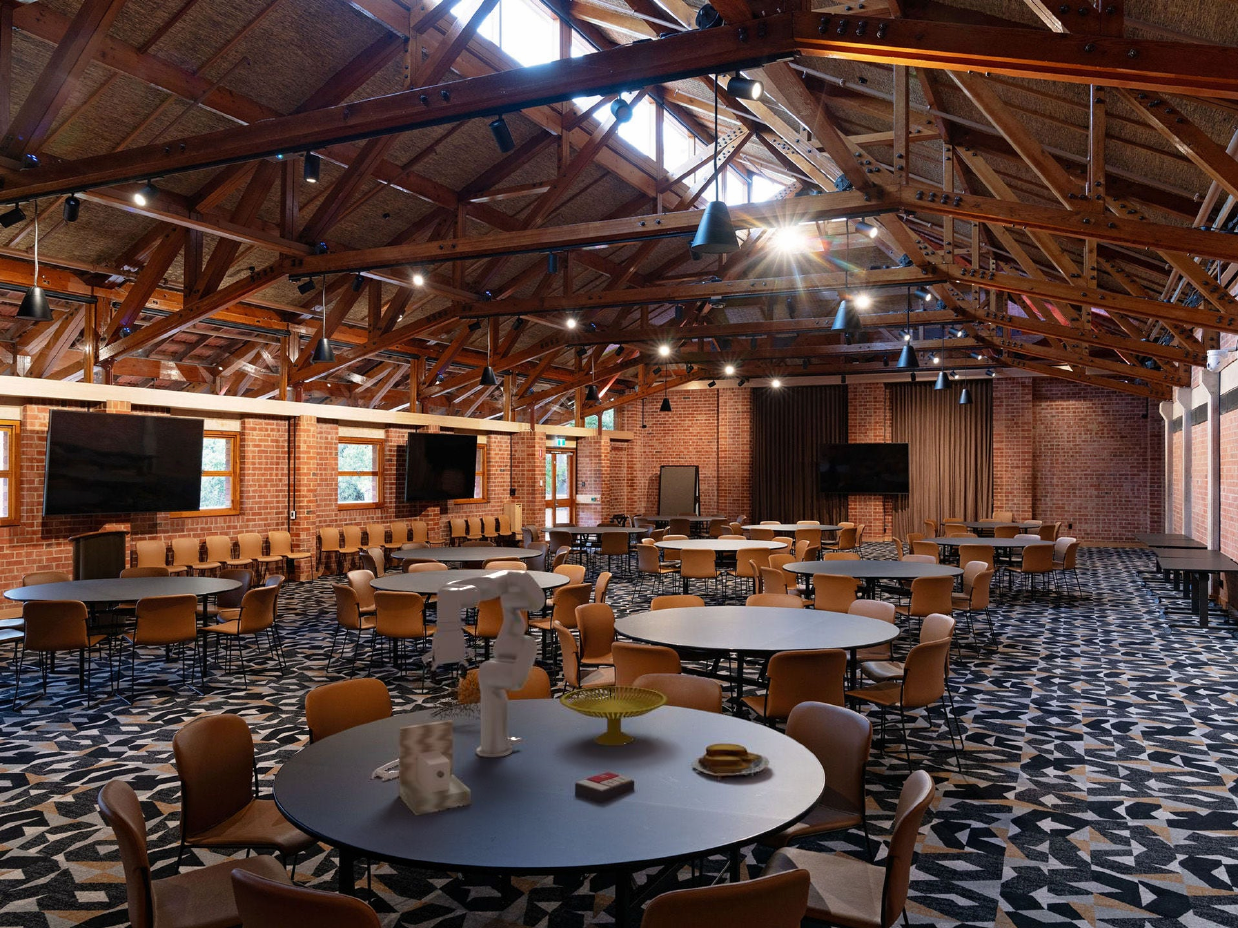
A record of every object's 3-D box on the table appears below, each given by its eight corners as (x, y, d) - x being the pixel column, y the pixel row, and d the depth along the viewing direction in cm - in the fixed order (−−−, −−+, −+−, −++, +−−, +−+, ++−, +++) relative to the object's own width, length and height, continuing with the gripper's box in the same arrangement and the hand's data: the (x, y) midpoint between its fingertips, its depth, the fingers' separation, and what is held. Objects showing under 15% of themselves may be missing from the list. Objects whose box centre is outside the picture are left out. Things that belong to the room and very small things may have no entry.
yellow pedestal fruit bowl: (644, 720, 321) (643, 682, 322) (687, 749, 283) (687, 705, 284) (546, 730, 307) (546, 690, 307) (578, 762, 269) (578, 717, 270)
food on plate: (727, 788, 245) (727, 766, 245) (676, 767, 266) (676, 746, 266) (786, 771, 260) (786, 751, 260) (733, 752, 280) (733, 733, 280)
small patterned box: (635, 778, 244) (602, 788, 233) (634, 792, 244) (601, 804, 233) (608, 770, 252) (574, 780, 240) (607, 784, 251) (574, 795, 240)
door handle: (442, 760, 273) (389, 783, 251) (419, 756, 278) (365, 778, 256) (442, 752, 273) (389, 774, 251) (419, 748, 278) (365, 770, 256)
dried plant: (404, 686, 305) (512, 637, 304) (430, 675, 336) (528, 631, 335) (434, 763, 300) (544, 713, 299) (458, 745, 331) (557, 700, 330)
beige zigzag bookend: (450, 785, 248) (450, 719, 249) (470, 804, 233) (470, 733, 234) (398, 795, 240) (399, 727, 241) (415, 815, 225) (416, 742, 226)
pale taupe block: (436, 776, 244) (437, 750, 245) (451, 790, 233) (451, 762, 233) (417, 780, 241) (417, 753, 242) (430, 794, 230) (430, 765, 230)
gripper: (470, 622, 266) (470, 675, 265) (418, 627, 257) (418, 681, 256) (478, 625, 259) (478, 679, 259) (425, 630, 251) (425, 686, 250)
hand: (448, 680), depth 257 cm, fingers open, 9 cm apart
